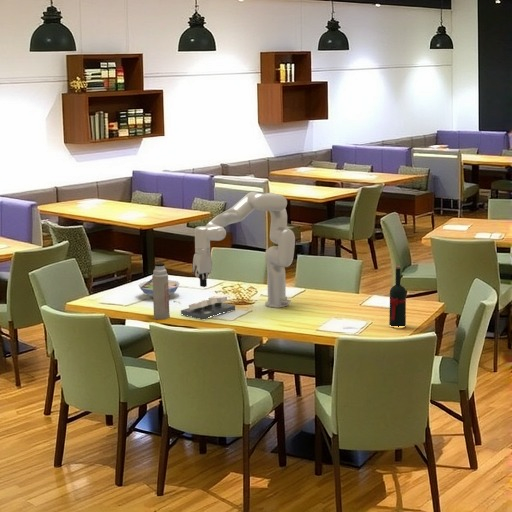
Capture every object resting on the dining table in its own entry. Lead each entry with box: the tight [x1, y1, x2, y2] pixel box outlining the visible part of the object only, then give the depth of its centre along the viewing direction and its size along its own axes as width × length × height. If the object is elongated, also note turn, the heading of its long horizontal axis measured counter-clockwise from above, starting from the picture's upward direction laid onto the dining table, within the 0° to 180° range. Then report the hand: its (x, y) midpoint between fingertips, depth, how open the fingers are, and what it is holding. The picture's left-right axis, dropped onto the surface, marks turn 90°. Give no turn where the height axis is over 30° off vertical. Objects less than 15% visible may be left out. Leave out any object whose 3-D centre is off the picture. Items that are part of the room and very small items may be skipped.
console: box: [180, 302, 236, 320], centre depth 493 cm, size 16×24×4 cm, turn 140°
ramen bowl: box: [138, 278, 181, 298], centre depth 528 cm, size 25×23×8 cm
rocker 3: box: [207, 295, 228, 303], centre depth 498 cm, size 9×4×3 cm, turn 50°
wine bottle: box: [388, 265, 407, 327], centre depth 457 cm, size 8×10×30 cm
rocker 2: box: [200, 298, 218, 305], centre depth 493 cm, size 9×4×3 cm, turn 49°
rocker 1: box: [188, 300, 208, 310], centre depth 487 cm, size 9×4×3 cm, turn 49°
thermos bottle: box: [151, 262, 171, 320], centre depth 484 cm, size 8×8×28 cm
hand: (203, 286), depth 484 cm, fingers closed
